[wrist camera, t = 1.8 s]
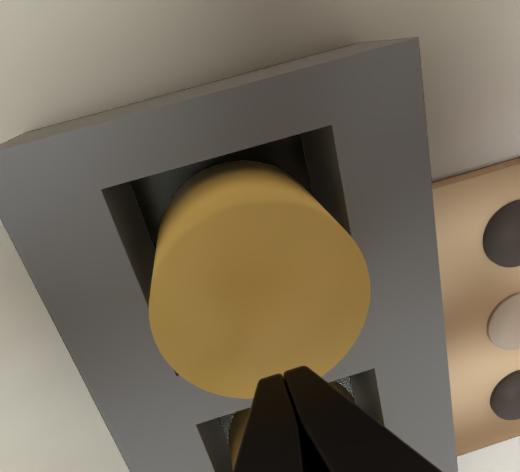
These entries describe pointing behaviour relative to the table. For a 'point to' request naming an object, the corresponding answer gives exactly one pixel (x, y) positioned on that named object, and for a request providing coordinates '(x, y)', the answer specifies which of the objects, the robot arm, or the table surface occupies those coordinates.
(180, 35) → the table surface
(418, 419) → the board
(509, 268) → the card
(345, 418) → the robot arm
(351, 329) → the button
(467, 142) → the table surface
